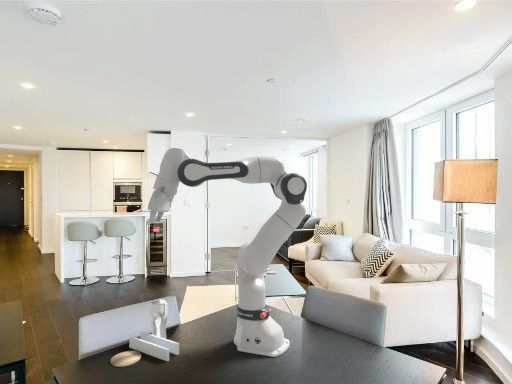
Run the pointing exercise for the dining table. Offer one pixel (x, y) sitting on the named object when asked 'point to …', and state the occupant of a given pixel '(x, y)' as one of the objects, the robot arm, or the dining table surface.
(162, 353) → the low plastic fence
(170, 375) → the dining table surface
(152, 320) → the beer glass
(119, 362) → the cork coaster
